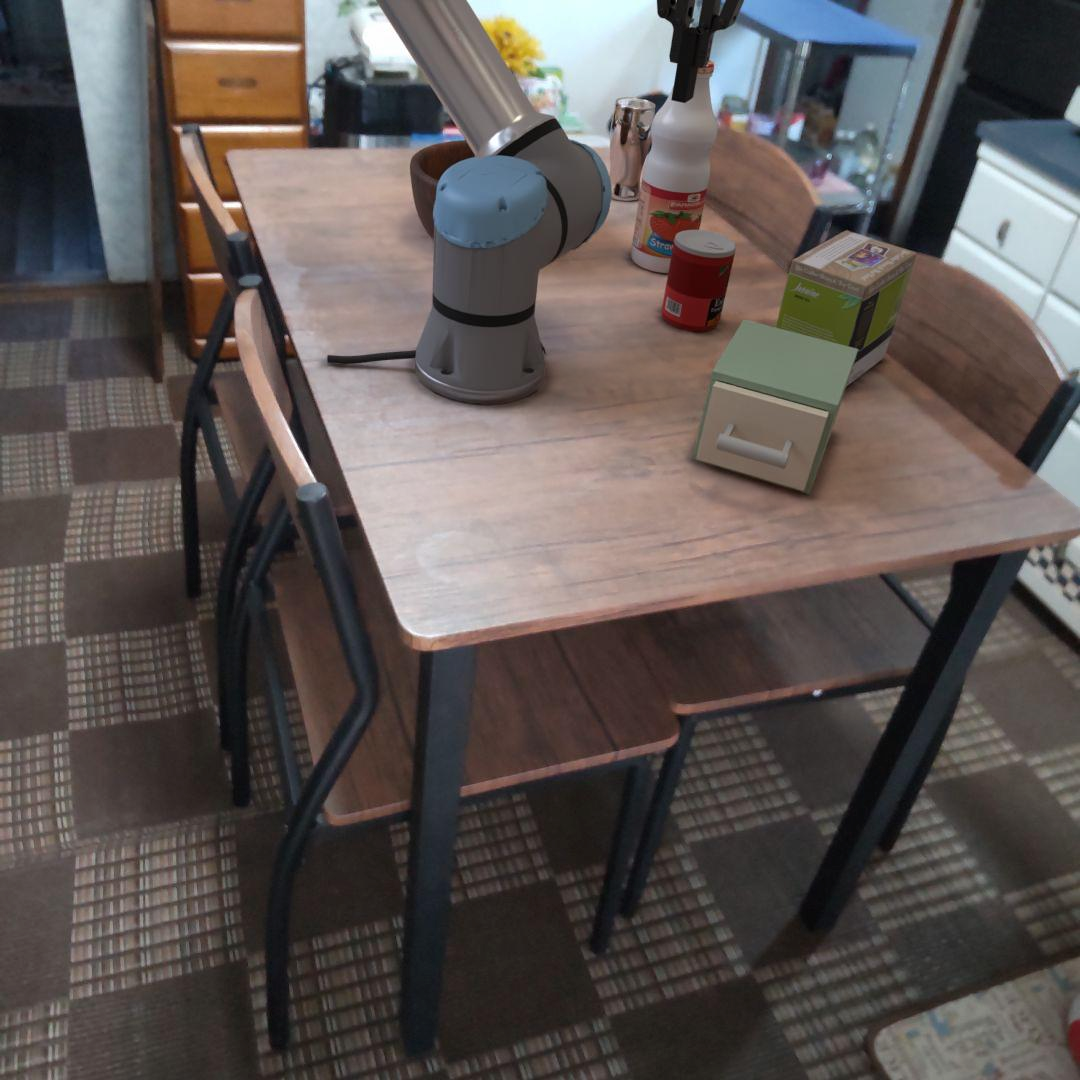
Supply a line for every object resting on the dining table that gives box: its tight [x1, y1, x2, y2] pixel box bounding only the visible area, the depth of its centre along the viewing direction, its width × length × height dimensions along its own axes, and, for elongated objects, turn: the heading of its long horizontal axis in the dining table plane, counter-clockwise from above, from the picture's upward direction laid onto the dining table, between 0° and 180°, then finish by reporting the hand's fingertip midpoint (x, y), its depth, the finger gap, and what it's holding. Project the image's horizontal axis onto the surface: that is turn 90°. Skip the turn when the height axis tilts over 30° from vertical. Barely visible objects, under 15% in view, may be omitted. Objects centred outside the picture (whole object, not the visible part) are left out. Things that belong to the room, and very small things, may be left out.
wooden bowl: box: [409, 139, 475, 240], centre depth 148 cm, size 25×25×10 cm
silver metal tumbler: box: [609, 96, 656, 202], centre depth 166 cm, size 7×7×15 cm
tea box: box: [775, 229, 918, 386], centre depth 123 cm, size 15×10×15 cm
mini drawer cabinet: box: [691, 318, 858, 495], centre depth 107 cm, size 14×13×11 cm
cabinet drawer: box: [696, 381, 829, 491], centre depth 104 cm, size 17×12×9 cm
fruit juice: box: [630, 59, 718, 274], centre depth 141 cm, size 9×9×28 cm
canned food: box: [661, 229, 737, 332], centre depth 131 cm, size 8×8×11 cm
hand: (682, 98), depth 103 cm, fingers closed
